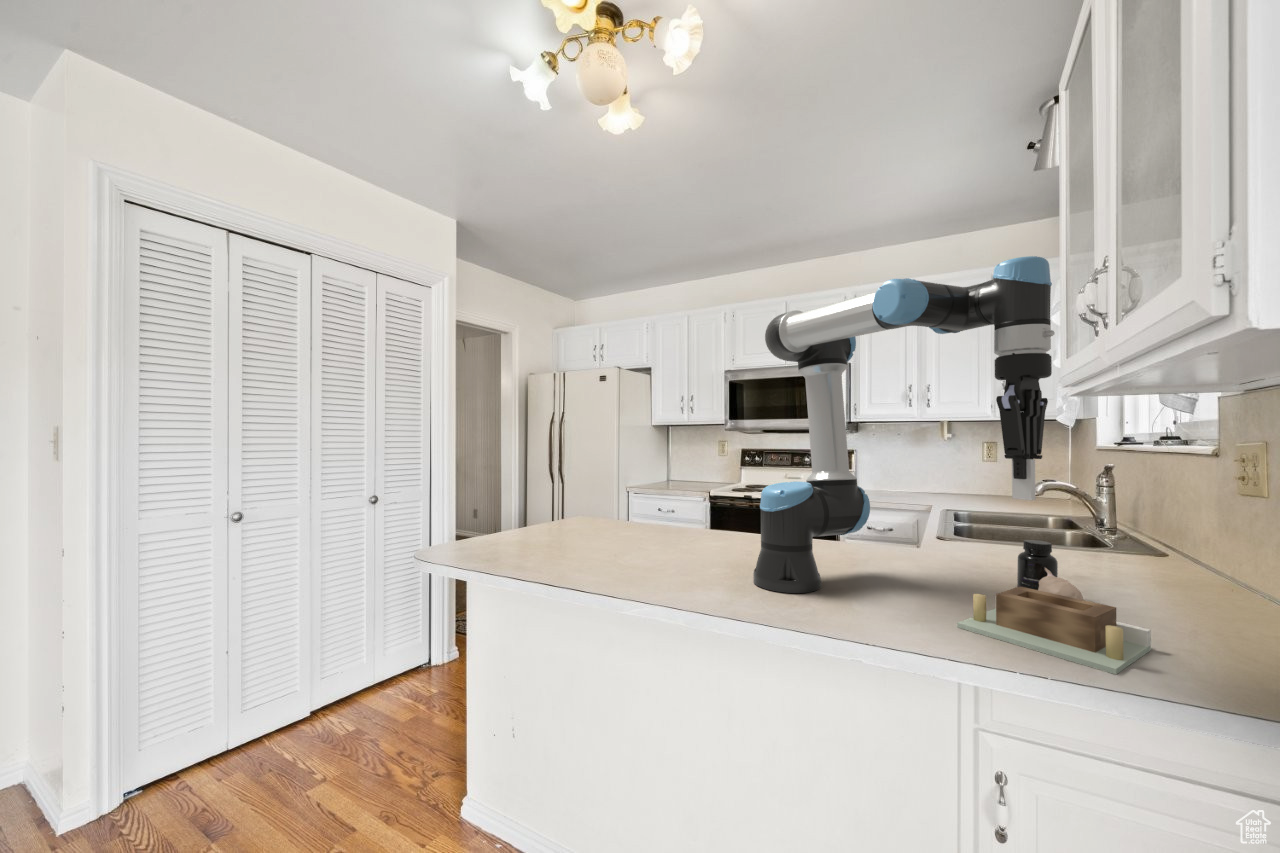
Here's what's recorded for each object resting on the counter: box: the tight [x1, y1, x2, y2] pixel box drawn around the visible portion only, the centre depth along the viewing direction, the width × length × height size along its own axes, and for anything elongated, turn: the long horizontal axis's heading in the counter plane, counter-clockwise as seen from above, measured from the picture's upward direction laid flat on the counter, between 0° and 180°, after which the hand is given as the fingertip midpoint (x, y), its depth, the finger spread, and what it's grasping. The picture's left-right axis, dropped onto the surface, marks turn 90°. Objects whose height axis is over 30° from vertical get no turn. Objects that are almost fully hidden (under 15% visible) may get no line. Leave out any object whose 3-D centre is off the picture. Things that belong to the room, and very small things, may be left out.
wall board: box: [956, 593, 1152, 675], centre depth 90 cm, size 22×16×5 cm
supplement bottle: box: [1016, 539, 1059, 590], centre depth 111 cm, size 7×7×12 cm
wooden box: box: [995, 586, 1117, 653], centre depth 90 cm, size 14×9×6 cm, turn 32°
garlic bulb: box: [1038, 568, 1084, 600], centre depth 103 cm, size 7×6×8 cm
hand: (1023, 499), depth 85 cm, fingers closed
